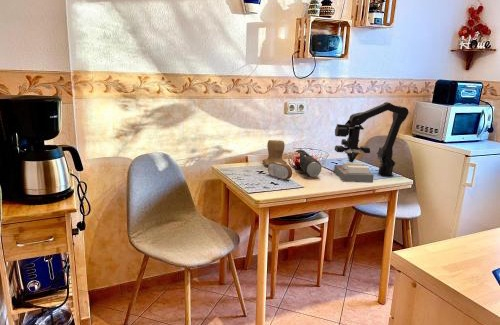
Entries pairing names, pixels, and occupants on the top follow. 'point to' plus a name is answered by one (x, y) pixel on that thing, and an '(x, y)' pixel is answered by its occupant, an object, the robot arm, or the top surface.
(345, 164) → the toggle
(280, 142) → the brown flared block
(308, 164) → the dark grey cylinder
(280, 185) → the top surface
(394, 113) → the robot arm
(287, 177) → the brown grey oval slab
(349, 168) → the toggle
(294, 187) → the top surface
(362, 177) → the switch box
